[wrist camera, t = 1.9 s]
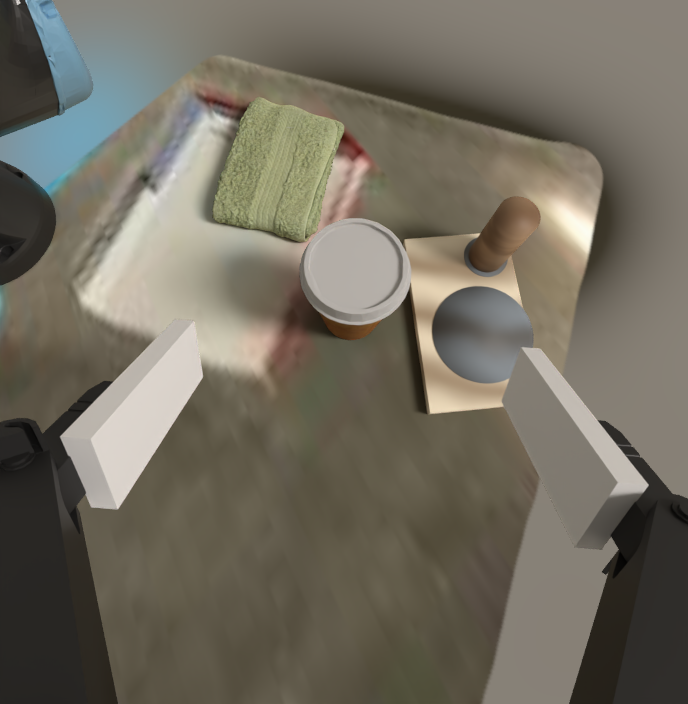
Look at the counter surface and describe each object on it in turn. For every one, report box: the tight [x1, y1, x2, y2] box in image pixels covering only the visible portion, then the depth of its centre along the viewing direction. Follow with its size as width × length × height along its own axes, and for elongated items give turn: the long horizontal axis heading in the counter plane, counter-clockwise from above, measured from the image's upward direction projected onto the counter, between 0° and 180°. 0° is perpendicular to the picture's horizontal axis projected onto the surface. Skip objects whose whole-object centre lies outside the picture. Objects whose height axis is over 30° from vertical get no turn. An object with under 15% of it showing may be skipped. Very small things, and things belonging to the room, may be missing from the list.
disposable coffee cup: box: [300, 218, 411, 340], centre depth 36 cm, size 10×10×12 cm
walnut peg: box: [468, 197, 540, 273], centre depth 39 cm, size 4×4×8 cm
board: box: [403, 234, 533, 414], centre depth 42 cm, size 20×12×1 cm, turn 5°
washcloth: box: [212, 97, 344, 242], centre depth 45 cm, size 13×18×3 cm
